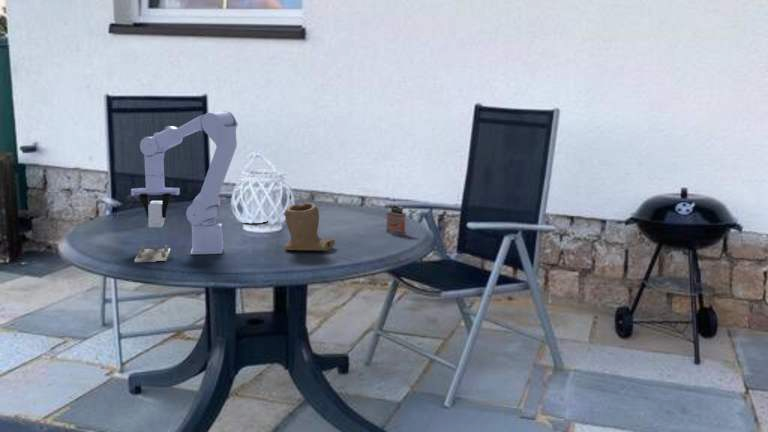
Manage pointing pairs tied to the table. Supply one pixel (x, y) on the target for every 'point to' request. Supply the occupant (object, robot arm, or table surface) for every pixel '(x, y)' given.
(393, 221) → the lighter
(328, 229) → the table surface
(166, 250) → the birch pin tray
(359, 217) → the table surface
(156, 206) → the block
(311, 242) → the brown hollow piece
